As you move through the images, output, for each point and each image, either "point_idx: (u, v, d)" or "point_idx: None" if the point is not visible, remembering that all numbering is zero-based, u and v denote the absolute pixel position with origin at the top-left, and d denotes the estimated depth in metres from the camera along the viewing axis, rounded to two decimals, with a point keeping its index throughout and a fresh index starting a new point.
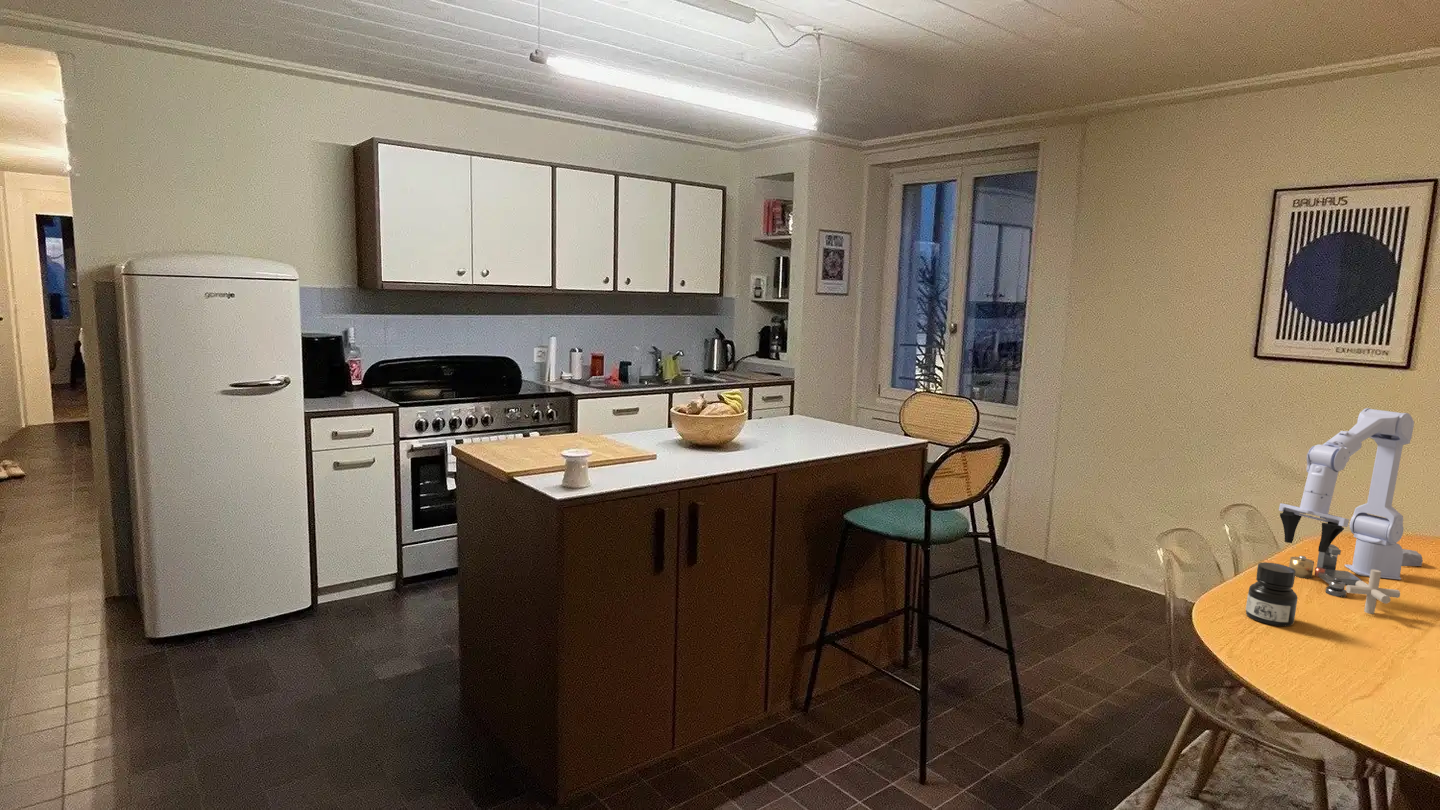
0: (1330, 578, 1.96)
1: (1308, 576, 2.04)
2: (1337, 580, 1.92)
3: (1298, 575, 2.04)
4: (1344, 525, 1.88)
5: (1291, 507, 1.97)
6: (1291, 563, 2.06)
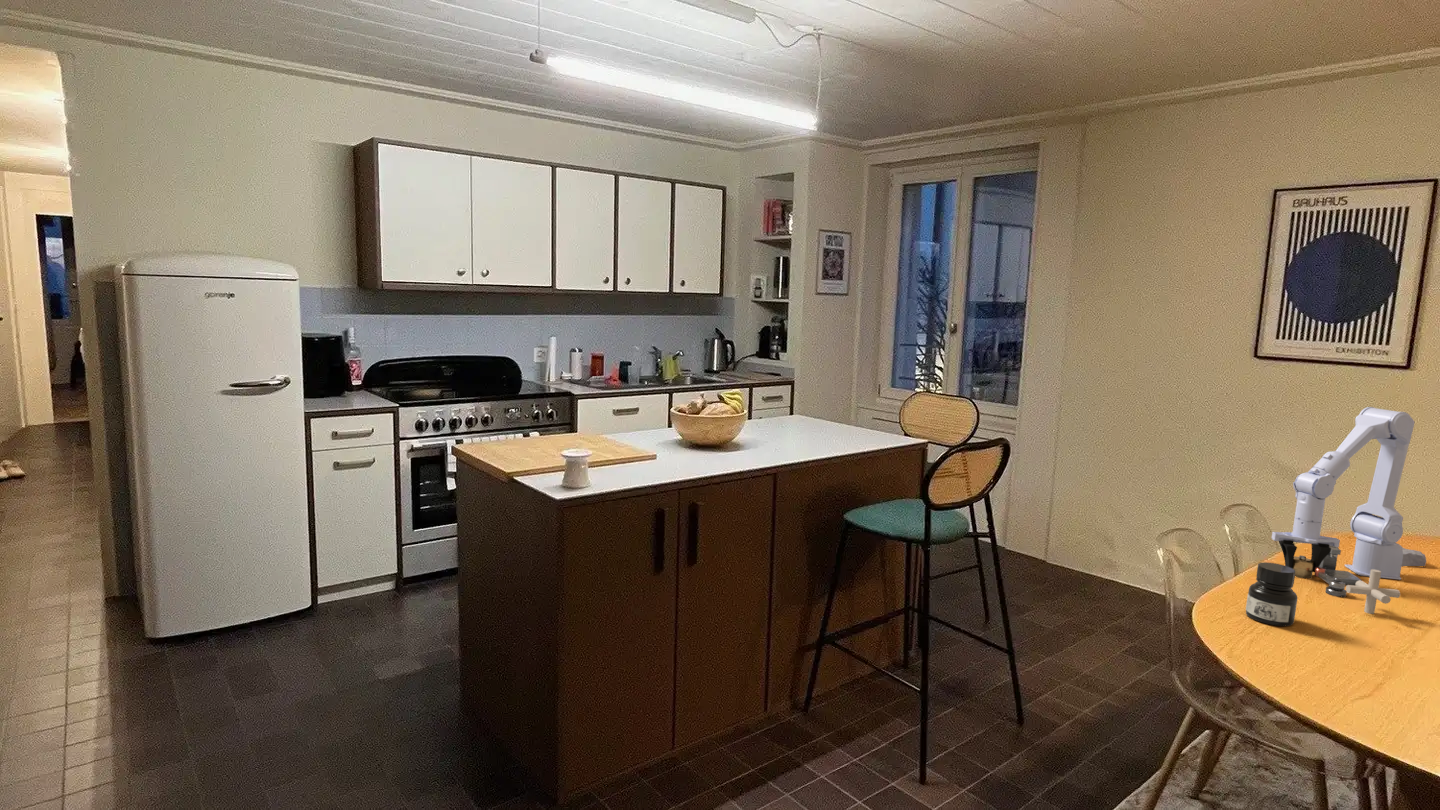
0: (1330, 578, 1.96)
1: (1308, 576, 2.04)
2: (1337, 580, 1.92)
3: (1298, 575, 2.04)
4: None
5: (1290, 537, 2.04)
6: None
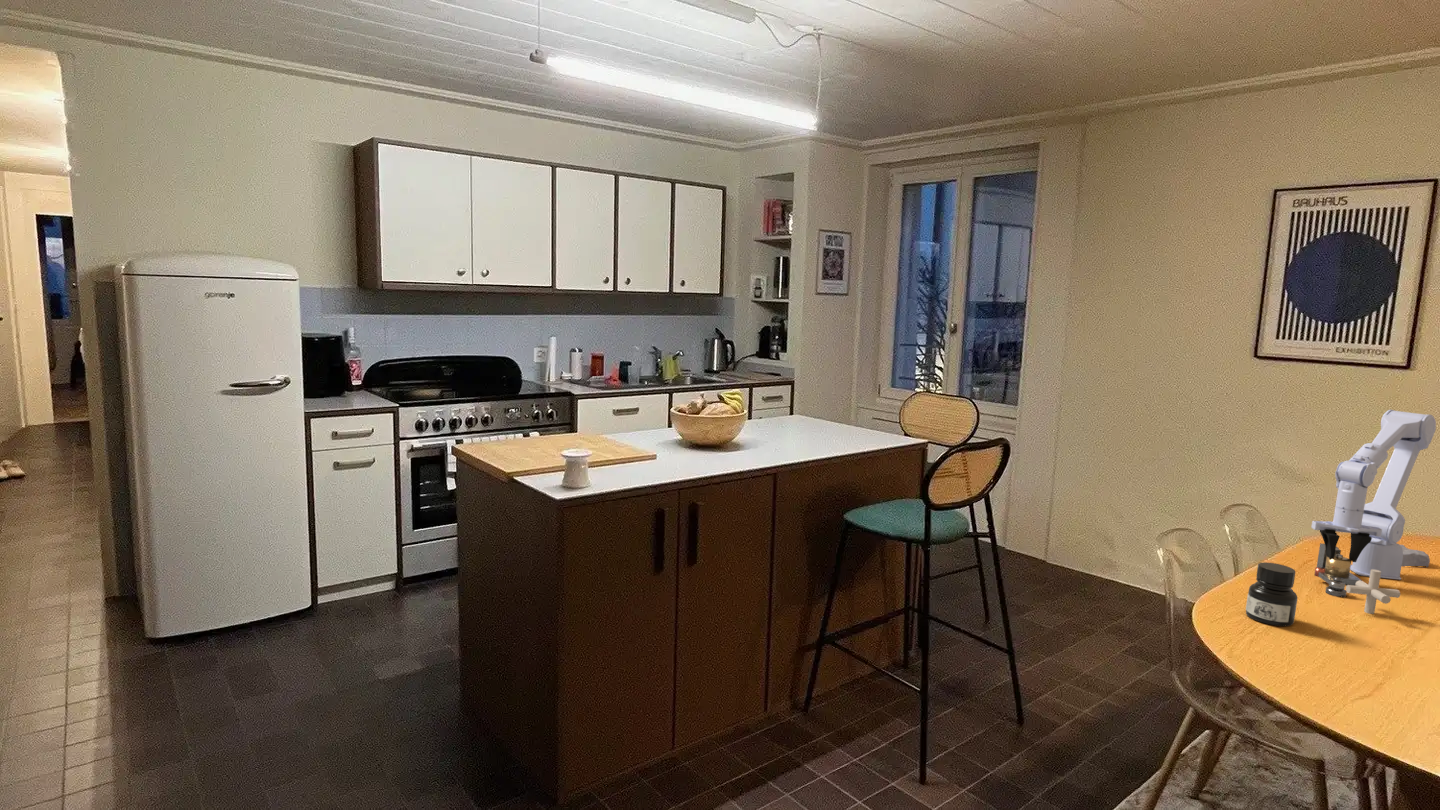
0: (1330, 578, 1.96)
1: (1345, 575, 2.01)
2: (1337, 580, 1.92)
3: (1334, 573, 2.02)
4: None
5: (1331, 526, 2.01)
6: (1327, 561, 2.04)
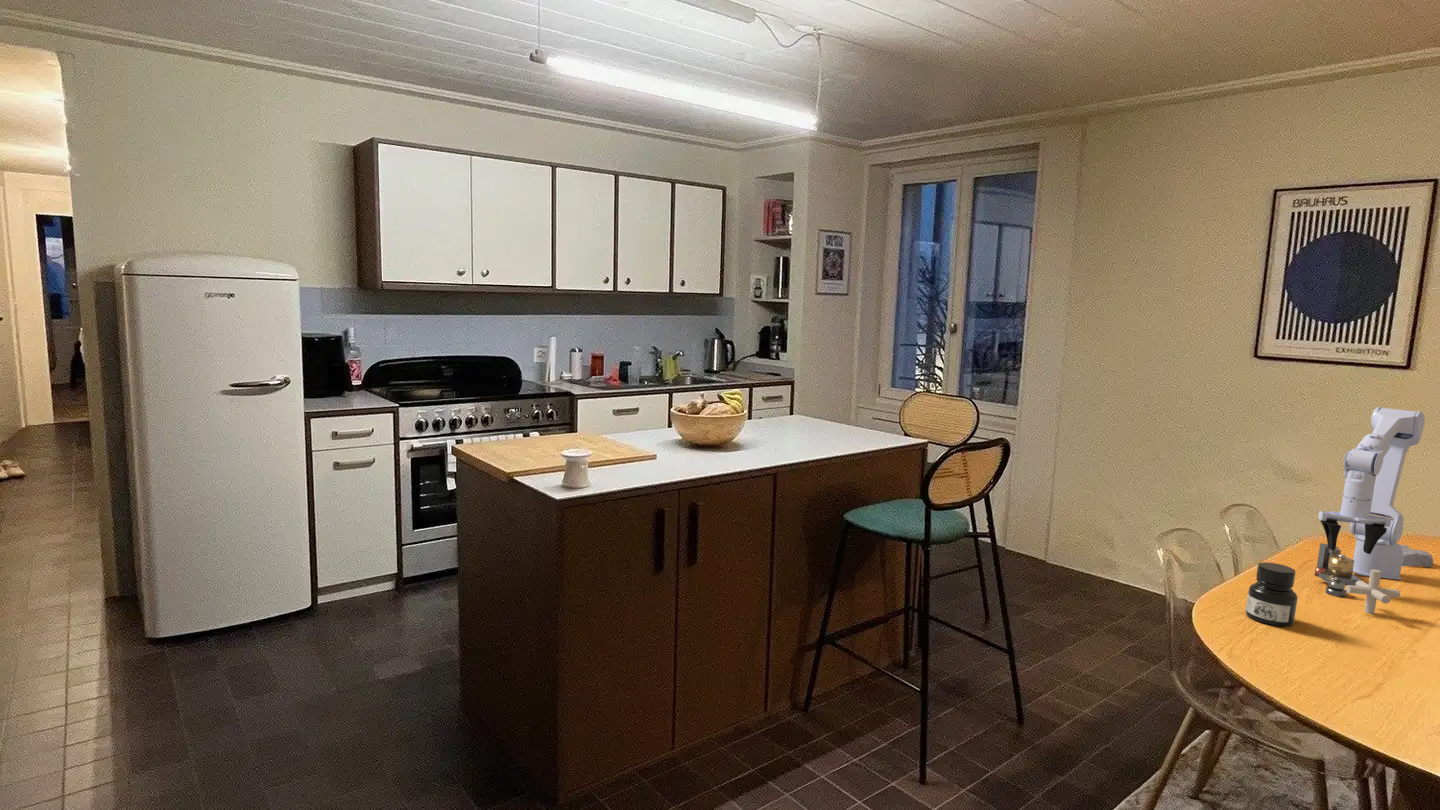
0: (1330, 578, 1.96)
1: (1348, 575, 2.01)
2: (1337, 580, 1.92)
3: (1337, 574, 2.02)
4: None
5: (1338, 516, 1.95)
6: (1330, 561, 2.03)
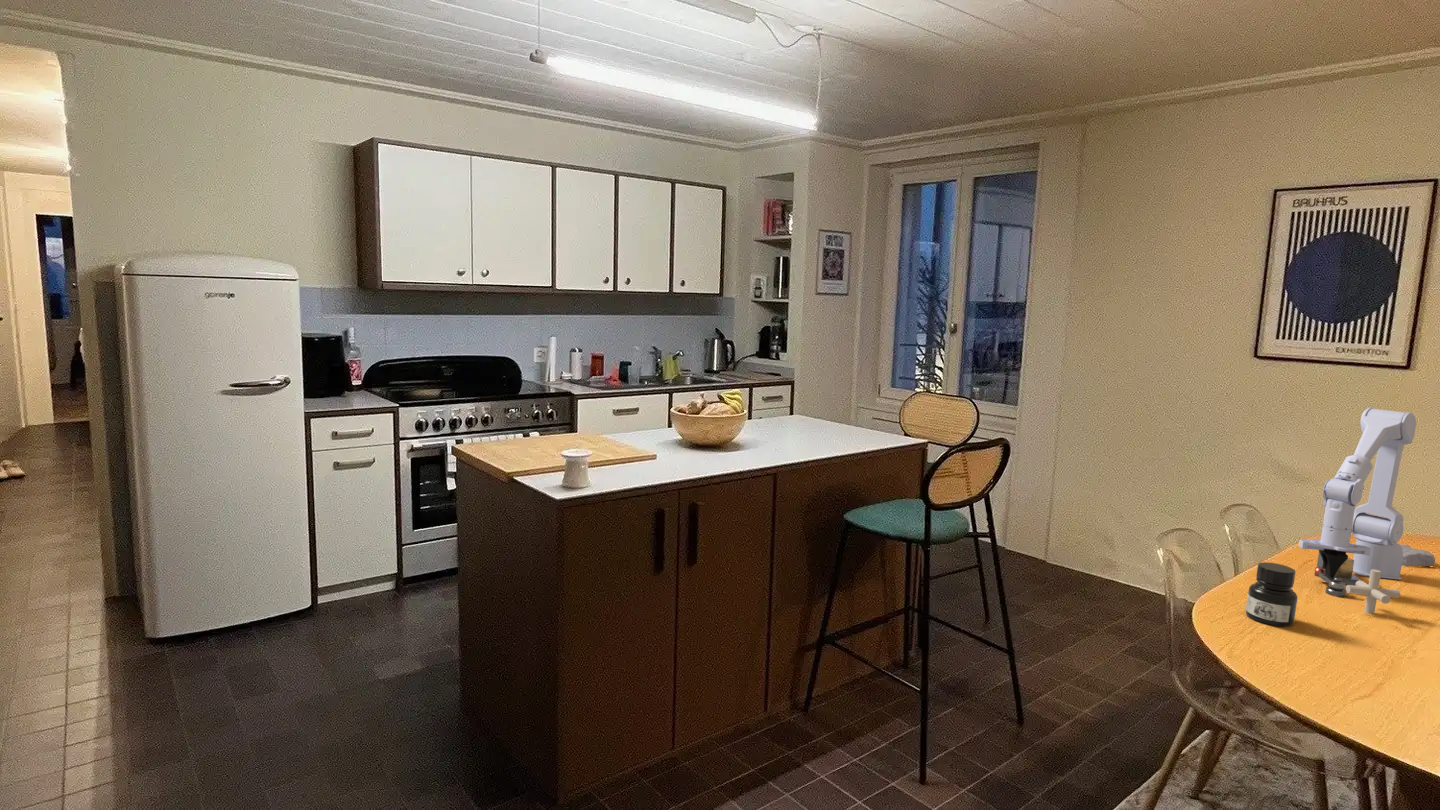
0: (1330, 578, 1.96)
1: (1348, 575, 2.01)
2: (1337, 580, 1.92)
3: (1337, 574, 2.02)
4: None
5: (1318, 545, 1.97)
6: None
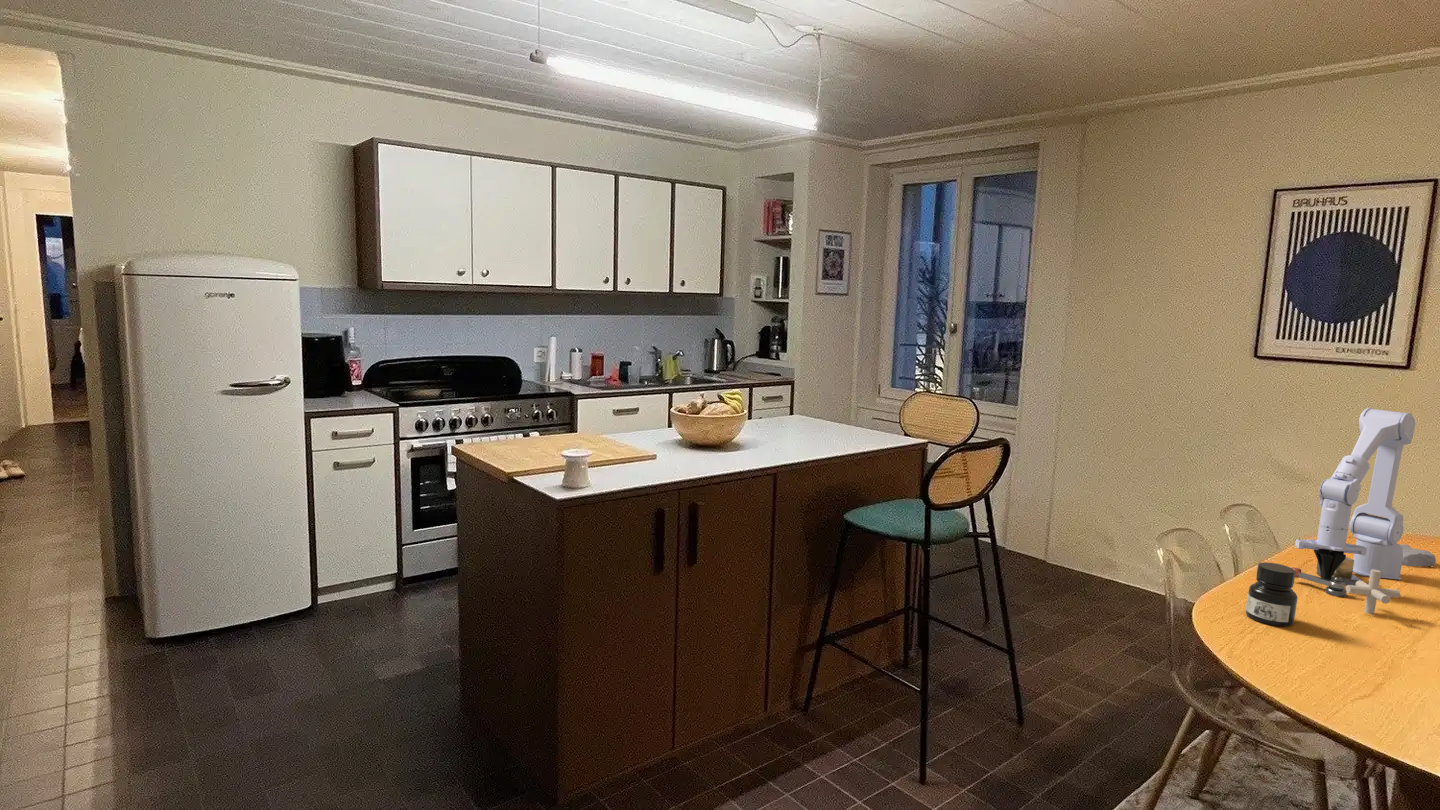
0: (1321, 578, 1.95)
1: (1348, 575, 2.01)
2: (1337, 580, 1.92)
3: (1337, 574, 2.02)
4: None
5: (1315, 545, 1.97)
6: None
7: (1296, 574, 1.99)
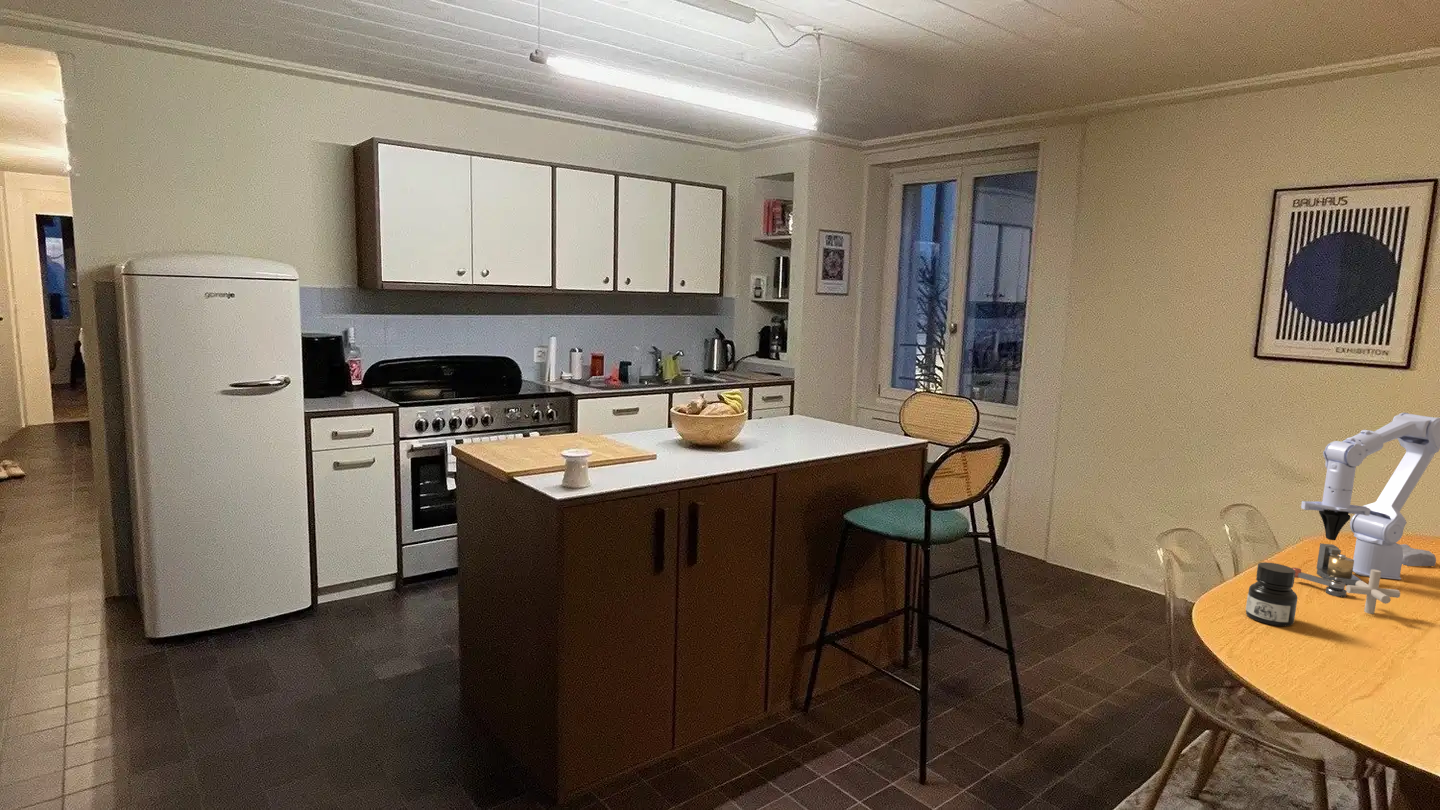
0: (1321, 578, 1.95)
1: (1348, 575, 2.01)
2: (1337, 580, 1.92)
3: (1337, 574, 2.02)
4: None
5: (1320, 506, 2.03)
6: (1330, 561, 2.03)
7: (1296, 574, 1.99)
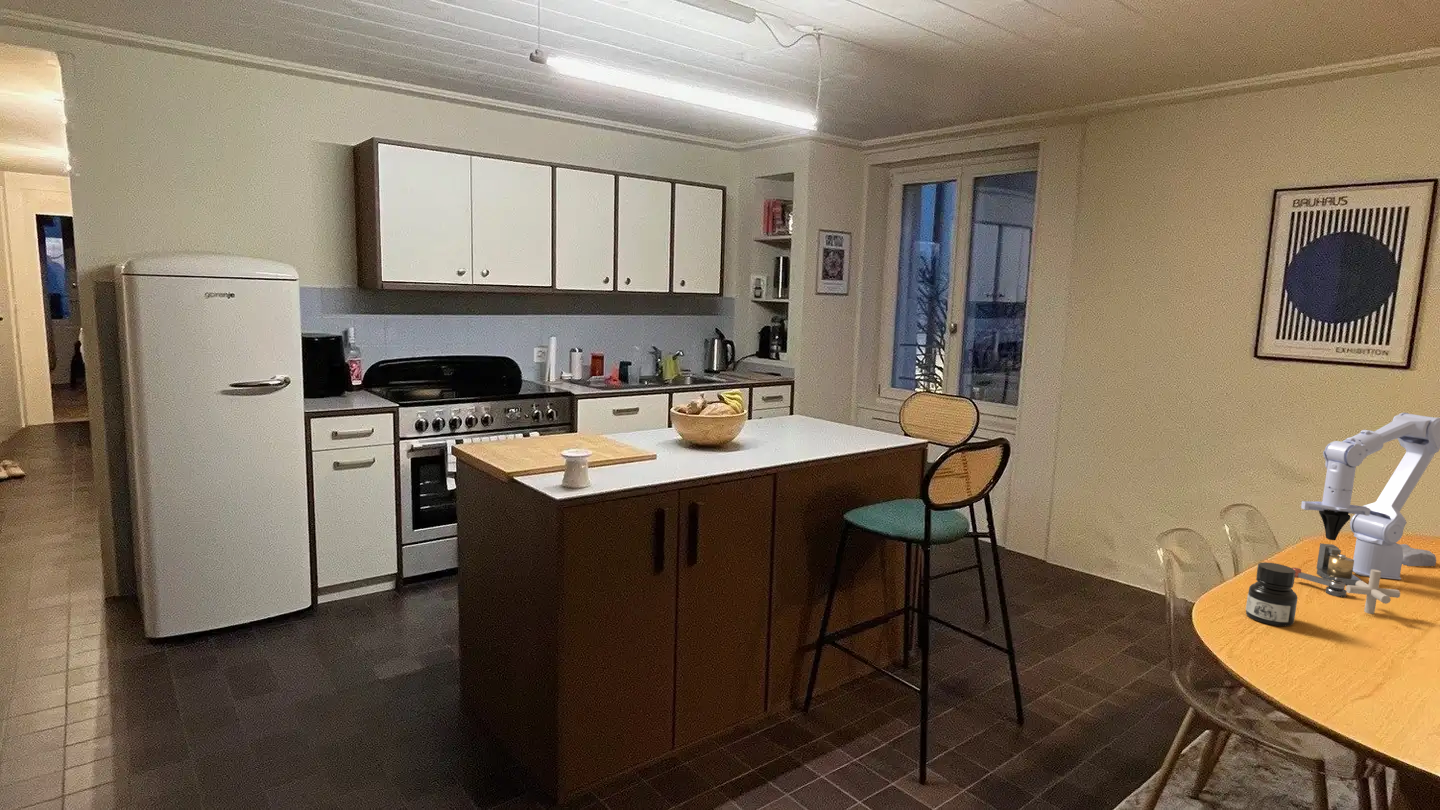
0: (1321, 578, 1.95)
1: (1348, 575, 2.01)
2: (1337, 580, 1.92)
3: (1337, 574, 2.02)
4: None
5: (1320, 506, 2.03)
6: (1330, 561, 2.03)
7: (1296, 574, 1.99)
